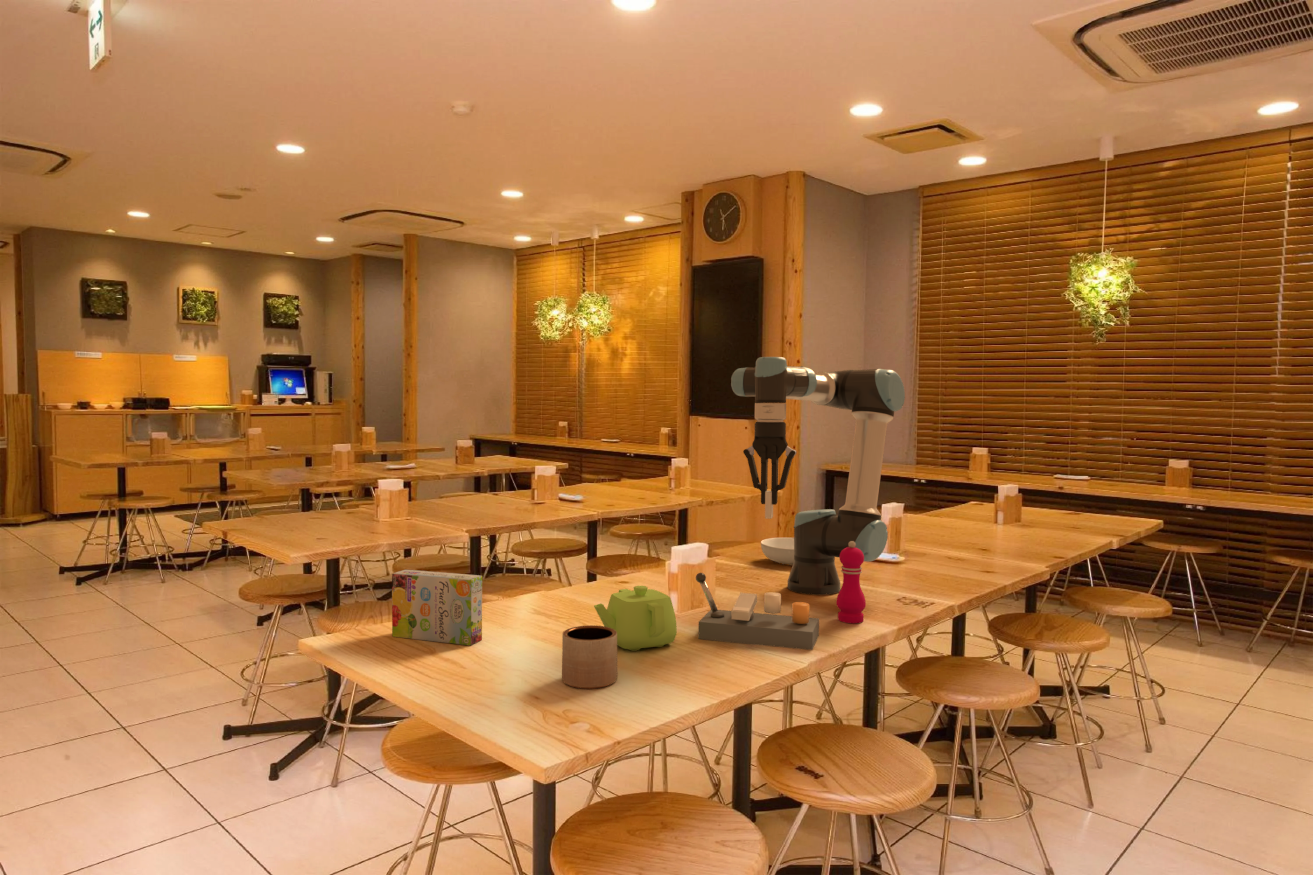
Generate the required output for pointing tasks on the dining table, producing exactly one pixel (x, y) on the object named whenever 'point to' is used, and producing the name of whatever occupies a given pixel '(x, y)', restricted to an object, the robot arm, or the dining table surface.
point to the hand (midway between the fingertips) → (769, 517)
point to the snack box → (437, 606)
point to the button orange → (800, 612)
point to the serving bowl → (779, 550)
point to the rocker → (744, 606)
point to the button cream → (772, 602)
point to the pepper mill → (851, 586)
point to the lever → (706, 591)
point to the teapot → (640, 618)
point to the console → (759, 630)
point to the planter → (589, 657)
